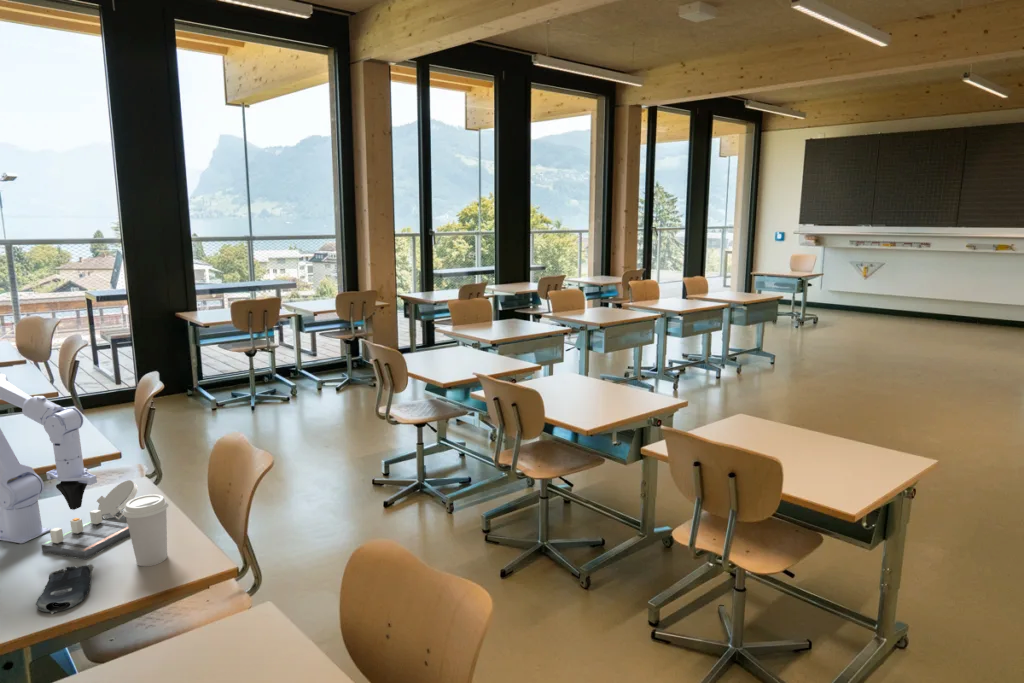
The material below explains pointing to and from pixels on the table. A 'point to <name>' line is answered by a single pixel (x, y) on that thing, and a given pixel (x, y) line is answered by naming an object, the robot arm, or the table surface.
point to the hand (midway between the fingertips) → (75, 507)
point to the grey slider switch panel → (88, 540)
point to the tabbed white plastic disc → (117, 500)
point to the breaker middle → (76, 525)
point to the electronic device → (66, 587)
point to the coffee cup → (148, 528)
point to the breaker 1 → (56, 535)
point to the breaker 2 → (96, 516)
